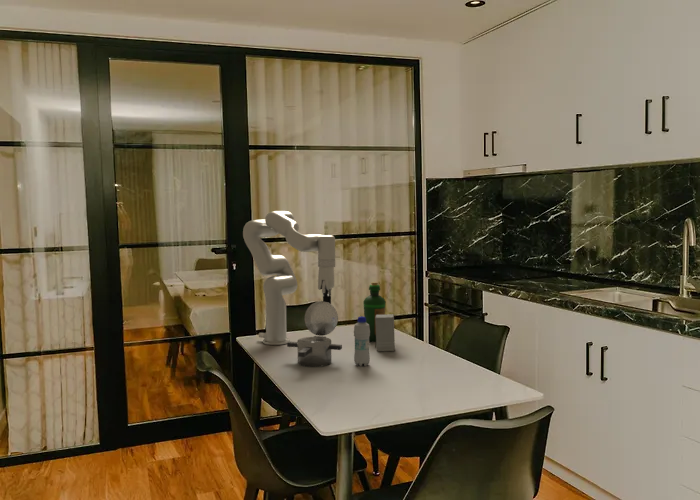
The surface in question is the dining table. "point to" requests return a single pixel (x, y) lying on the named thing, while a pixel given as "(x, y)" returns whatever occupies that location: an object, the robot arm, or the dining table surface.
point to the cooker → (314, 351)
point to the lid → (321, 318)
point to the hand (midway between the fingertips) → (327, 304)
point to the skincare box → (385, 332)
